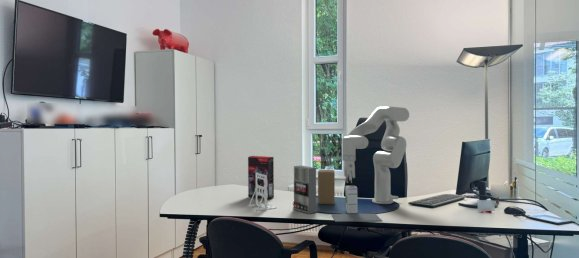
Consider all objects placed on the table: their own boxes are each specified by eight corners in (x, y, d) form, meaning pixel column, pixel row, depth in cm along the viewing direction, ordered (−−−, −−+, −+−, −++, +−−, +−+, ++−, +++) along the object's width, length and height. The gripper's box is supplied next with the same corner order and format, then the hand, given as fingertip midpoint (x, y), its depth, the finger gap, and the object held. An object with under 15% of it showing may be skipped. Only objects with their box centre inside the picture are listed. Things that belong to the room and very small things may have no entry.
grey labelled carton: (292, 209, 229) (292, 166, 228) (300, 207, 232) (300, 165, 231) (308, 214, 218) (307, 168, 217) (316, 212, 221) (316, 167, 220)
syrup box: (357, 213, 219) (357, 187, 219) (347, 213, 219) (347, 187, 218) (355, 210, 225) (355, 185, 224) (345, 210, 225) (345, 185, 224)
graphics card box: (247, 197, 264) (247, 156, 263) (253, 195, 270) (253, 155, 269) (268, 200, 255) (268, 157, 254) (274, 198, 261) (274, 156, 260)
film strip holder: (278, 208, 232) (278, 174, 231) (257, 211, 224) (257, 176, 224) (267, 203, 244) (267, 171, 243) (246, 206, 237) (246, 173, 236)
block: (334, 201, 250) (334, 169, 249) (334, 204, 240) (334, 171, 239) (318, 200, 251) (318, 169, 250) (318, 204, 241) (317, 171, 240)
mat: (375, 214, 216) (375, 213, 216) (382, 221, 202) (382, 220, 202) (331, 215, 215) (331, 214, 215) (335, 221, 202) (335, 221, 202)
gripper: (358, 159, 221) (357, 192, 221) (353, 156, 236) (352, 187, 236) (344, 159, 221) (344, 192, 221) (340, 156, 235) (340, 187, 236)
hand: (348, 189), depth 229 cm, fingers closed
